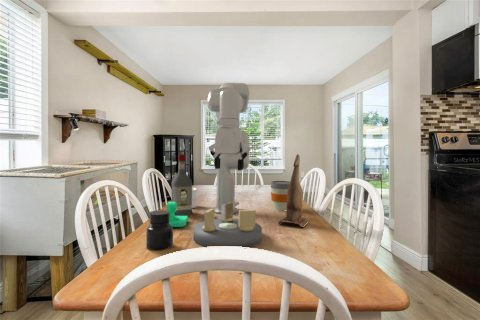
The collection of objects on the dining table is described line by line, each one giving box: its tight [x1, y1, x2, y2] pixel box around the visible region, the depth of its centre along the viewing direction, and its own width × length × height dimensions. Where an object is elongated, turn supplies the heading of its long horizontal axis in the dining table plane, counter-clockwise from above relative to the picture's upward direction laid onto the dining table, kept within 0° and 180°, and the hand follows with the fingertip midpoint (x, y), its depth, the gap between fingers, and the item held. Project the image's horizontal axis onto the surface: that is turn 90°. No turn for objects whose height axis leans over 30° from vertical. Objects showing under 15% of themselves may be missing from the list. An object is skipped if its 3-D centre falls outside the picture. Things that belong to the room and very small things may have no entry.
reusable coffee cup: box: [270, 180, 290, 212], centre depth 163 cm, size 13×12×15 cm
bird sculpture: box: [277, 154, 309, 227], centre depth 133 cm, size 11×12×32 cm
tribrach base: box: [193, 208, 263, 248], centre depth 114 cm, size 26×26×12 cm
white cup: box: [192, 187, 198, 209], centre depth 166 cm, size 8×8×10 cm
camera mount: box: [166, 201, 189, 228], centre depth 130 cm, size 12×8×10 cm, turn 0°
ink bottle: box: [145, 209, 174, 251], centre depth 104 cm, size 10×9×12 cm
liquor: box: [171, 153, 193, 216], centre depth 149 cm, size 9×9×30 cm
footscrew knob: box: [220, 202, 234, 223], centre depth 122 cm, size 6×5×7 cm
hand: (228, 169), depth 113 cm, fingers open, 9 cm apart
